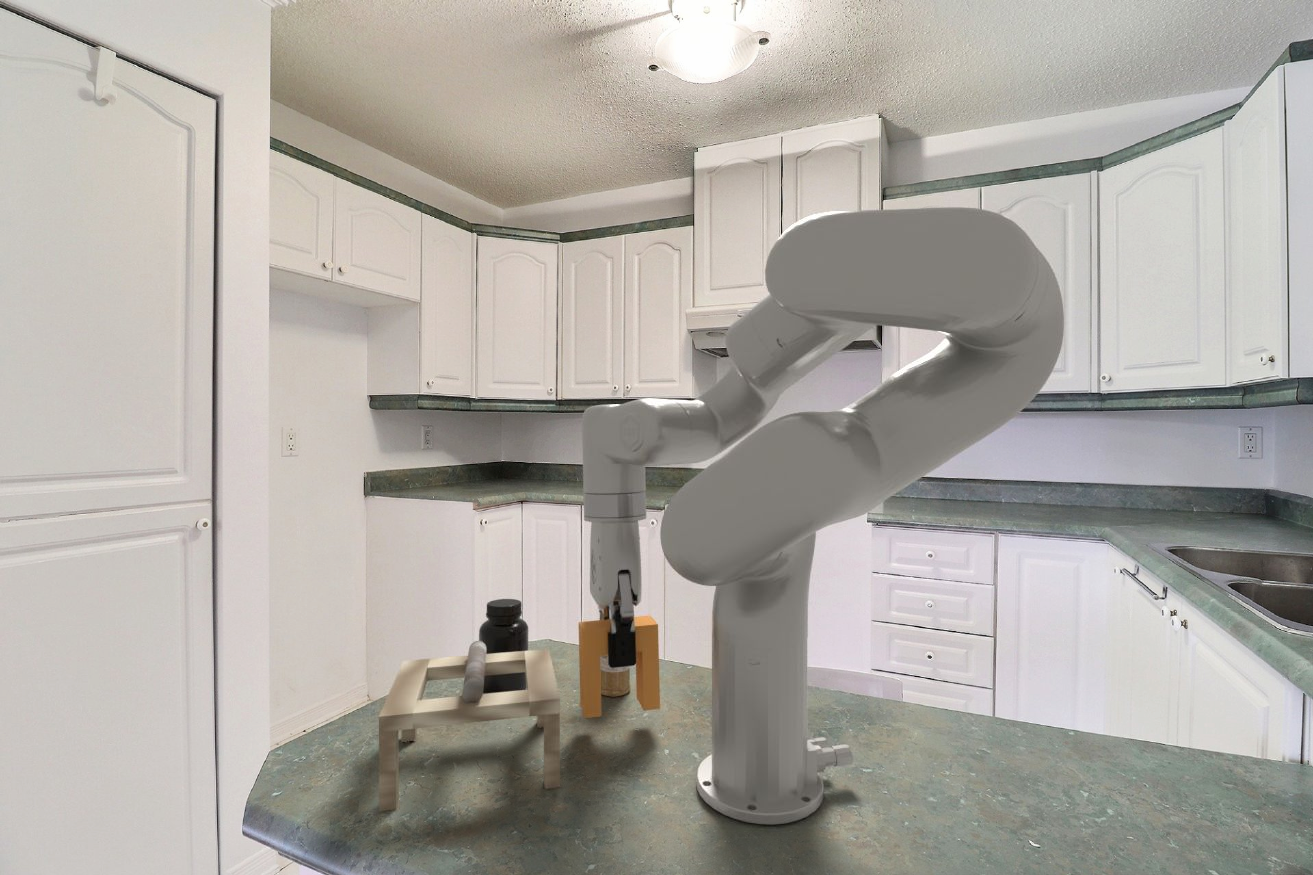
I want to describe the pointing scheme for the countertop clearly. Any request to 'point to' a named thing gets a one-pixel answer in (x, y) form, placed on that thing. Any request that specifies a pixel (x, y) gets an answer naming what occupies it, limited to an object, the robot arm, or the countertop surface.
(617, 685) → the sprinkles bottle
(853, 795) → the countertop surface
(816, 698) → the countertop surface
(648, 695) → the orange block
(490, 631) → the supplement bottle
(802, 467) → the robot arm
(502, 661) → the wooden frame stool
